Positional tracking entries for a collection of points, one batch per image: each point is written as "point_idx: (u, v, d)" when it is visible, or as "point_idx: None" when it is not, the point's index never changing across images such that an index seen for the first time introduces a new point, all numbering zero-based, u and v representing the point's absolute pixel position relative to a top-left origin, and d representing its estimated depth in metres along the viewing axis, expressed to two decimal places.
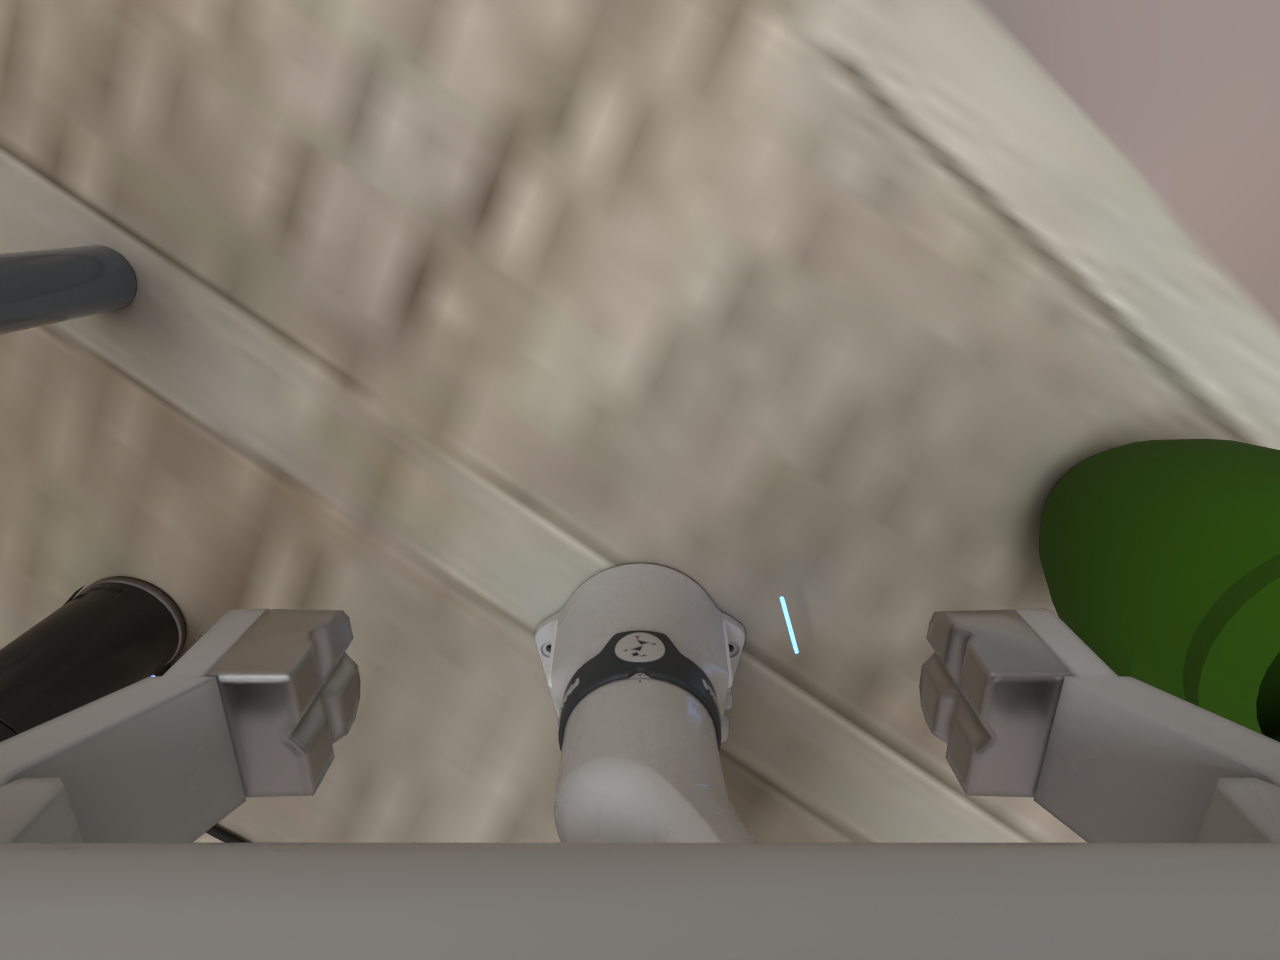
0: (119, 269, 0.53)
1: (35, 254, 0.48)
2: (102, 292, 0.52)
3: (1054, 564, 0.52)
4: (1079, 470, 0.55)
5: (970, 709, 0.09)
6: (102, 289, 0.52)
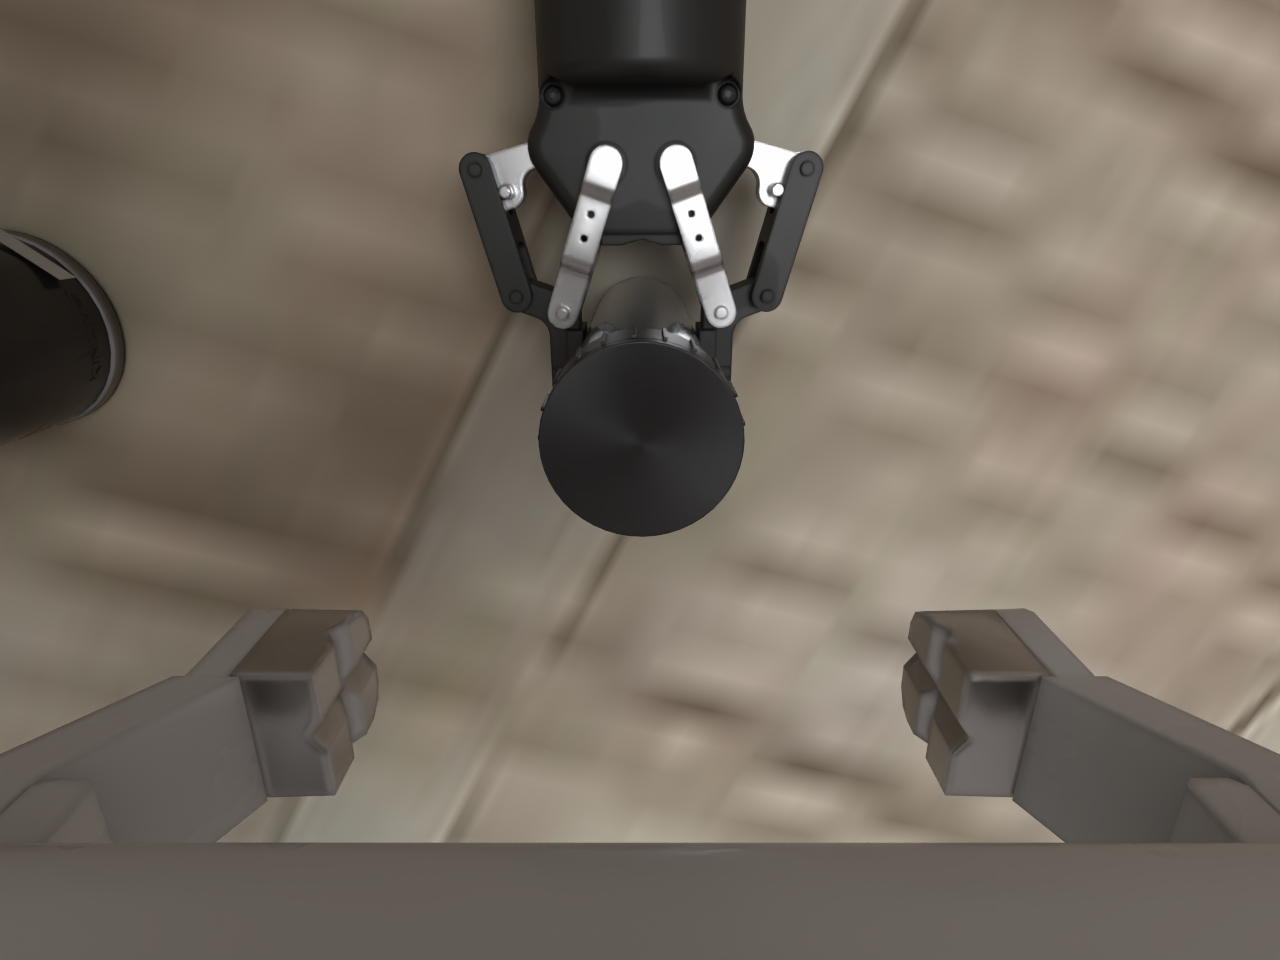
0: None
1: None
2: None
3: None
4: None
5: (949, 709, 0.09)
6: None
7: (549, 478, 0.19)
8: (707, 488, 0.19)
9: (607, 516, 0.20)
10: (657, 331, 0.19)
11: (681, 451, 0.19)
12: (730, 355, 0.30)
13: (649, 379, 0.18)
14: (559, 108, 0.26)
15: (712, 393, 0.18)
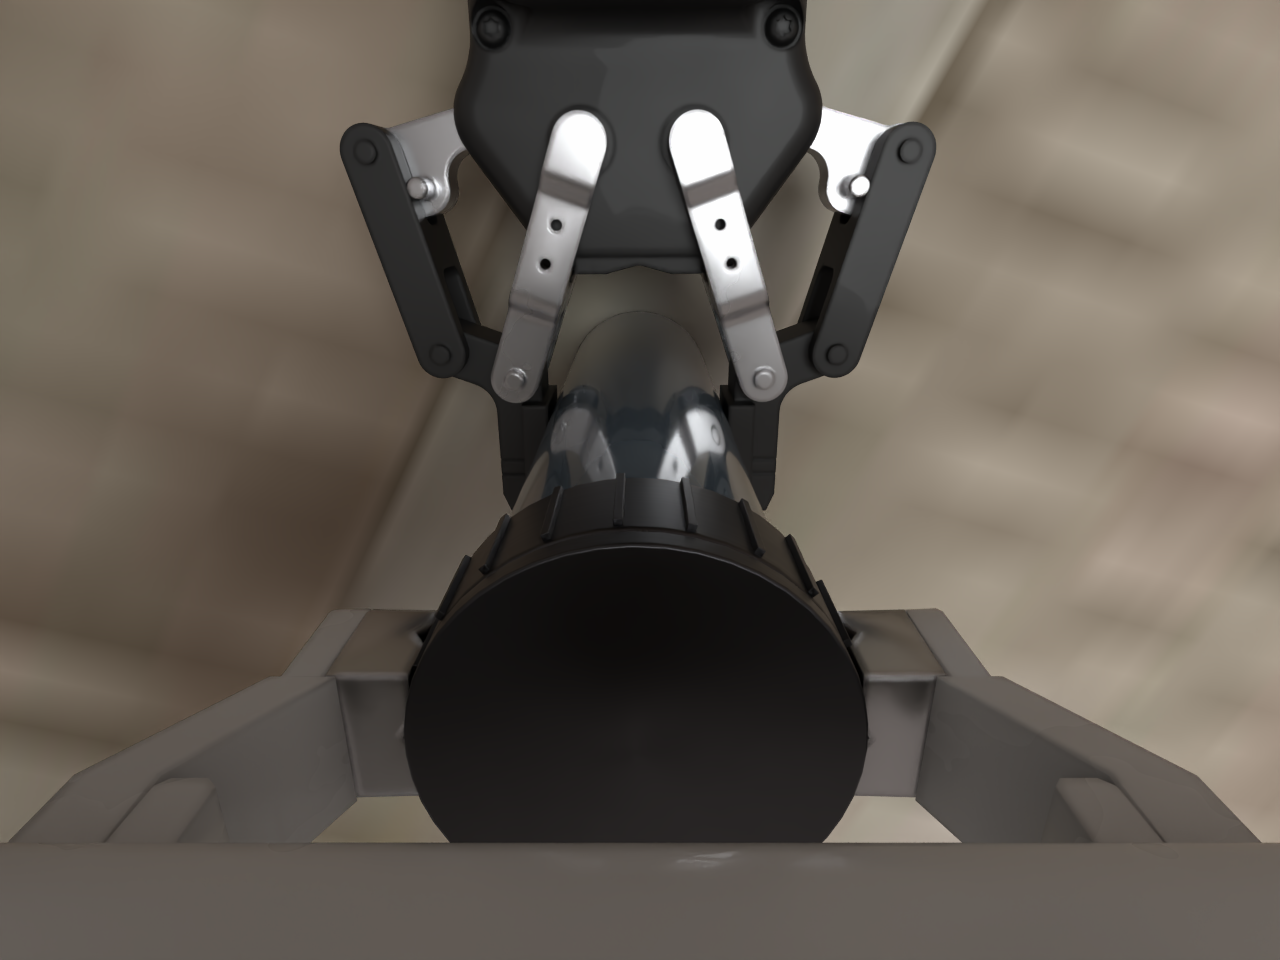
0: None
1: None
2: None
3: None
4: None
5: None
6: None
7: (432, 817, 0.09)
8: (780, 834, 0.09)
9: None
10: (671, 489, 0.09)
11: (725, 767, 0.08)
12: (775, 441, 0.20)
13: (654, 625, 0.08)
14: (502, 49, 0.16)
15: (801, 654, 0.08)
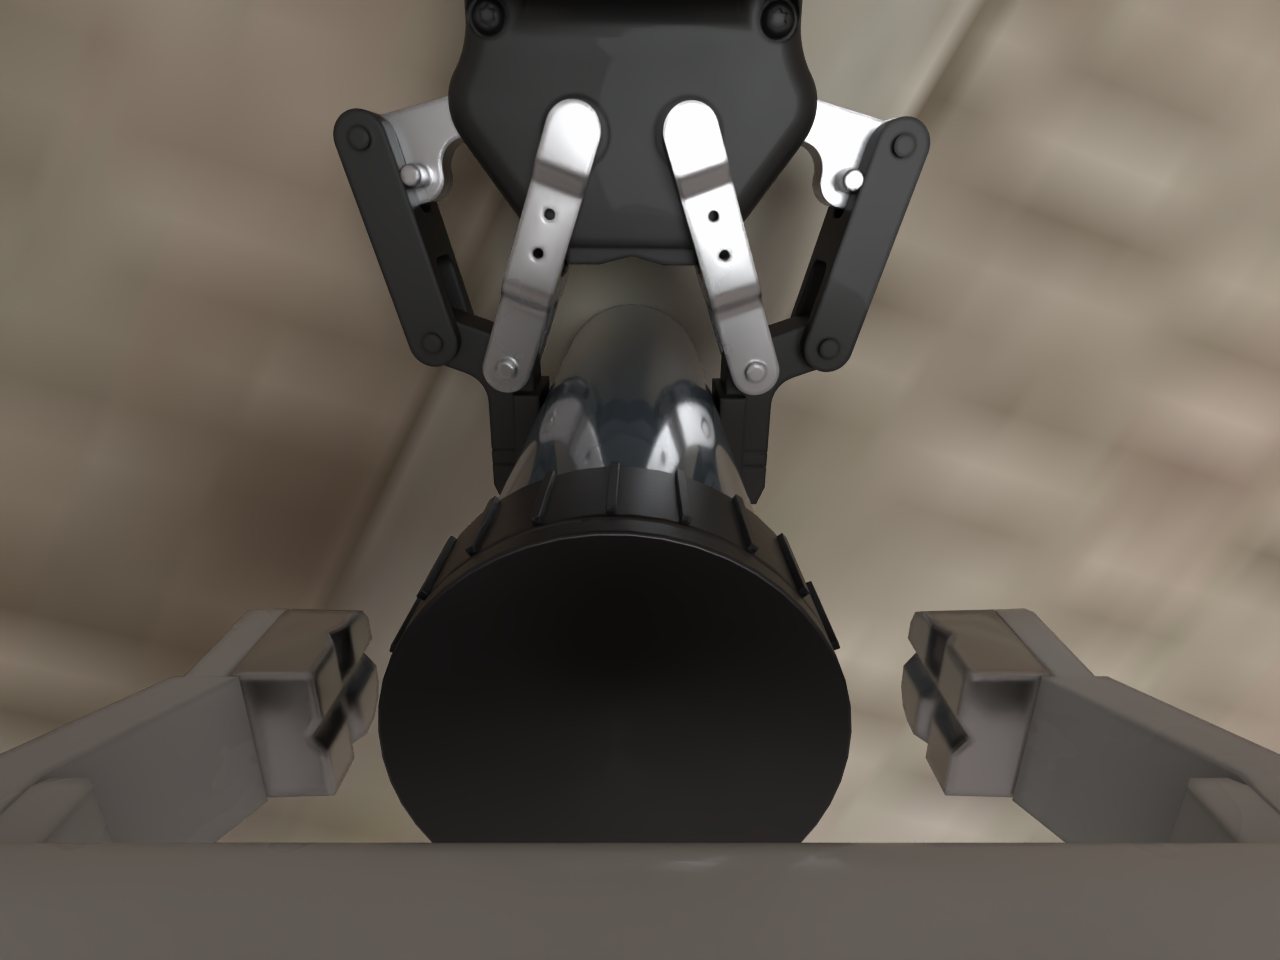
0: None
1: None
2: None
3: None
4: None
5: (949, 709, 0.09)
6: None
7: None
8: (803, 712, 0.08)
9: None
10: None
11: (692, 699, 0.08)
12: (766, 434, 0.20)
13: (507, 648, 0.08)
14: (497, 37, 0.16)
15: (632, 570, 0.07)
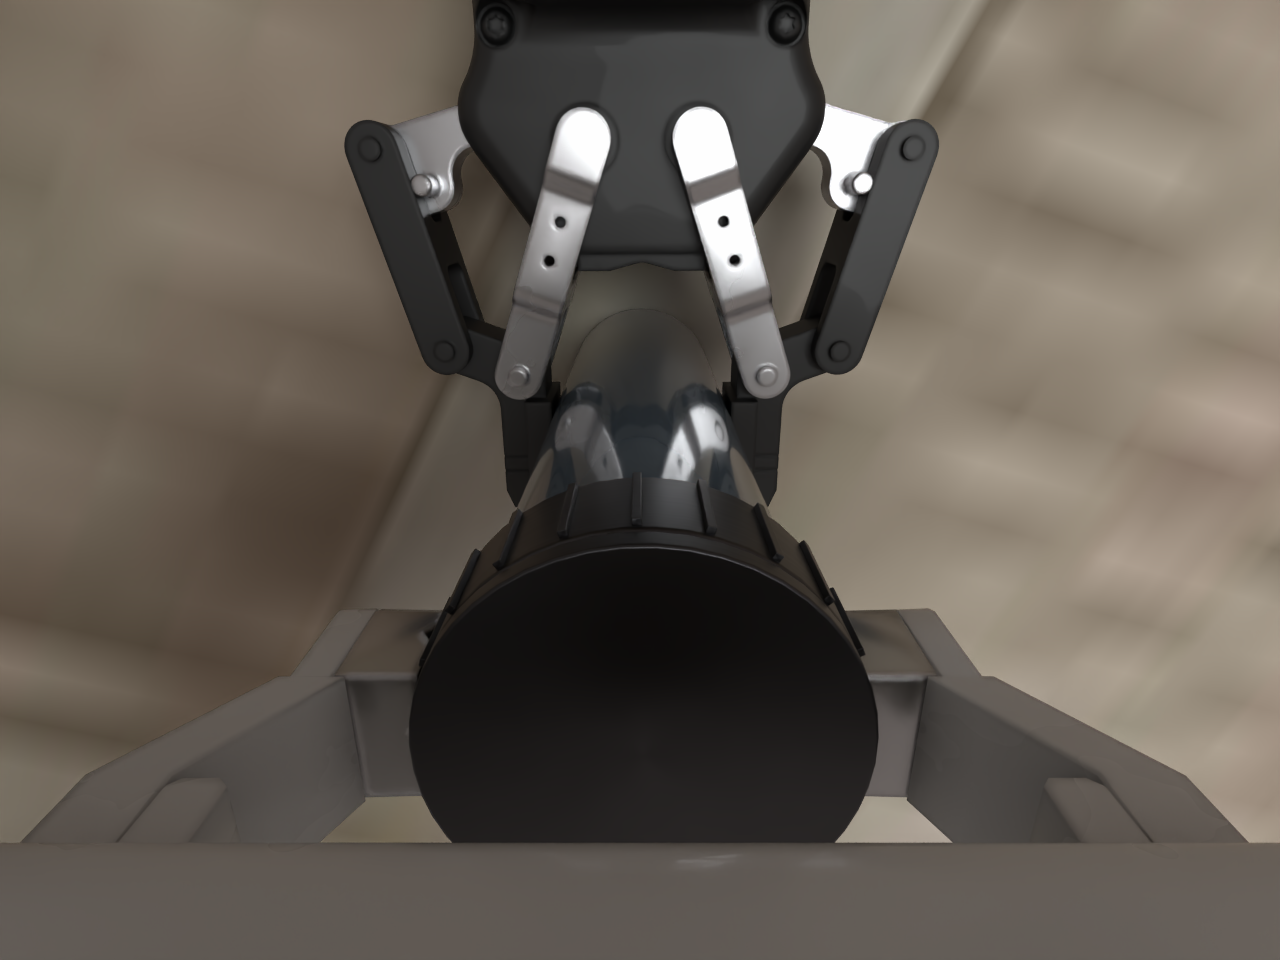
0: None
1: None
2: None
3: None
4: None
5: None
6: None
7: None
8: (831, 719, 0.08)
9: None
10: (505, 533, 0.09)
11: (719, 709, 0.08)
12: (777, 437, 0.20)
13: (536, 661, 0.08)
14: (506, 47, 0.16)
15: (659, 583, 0.07)
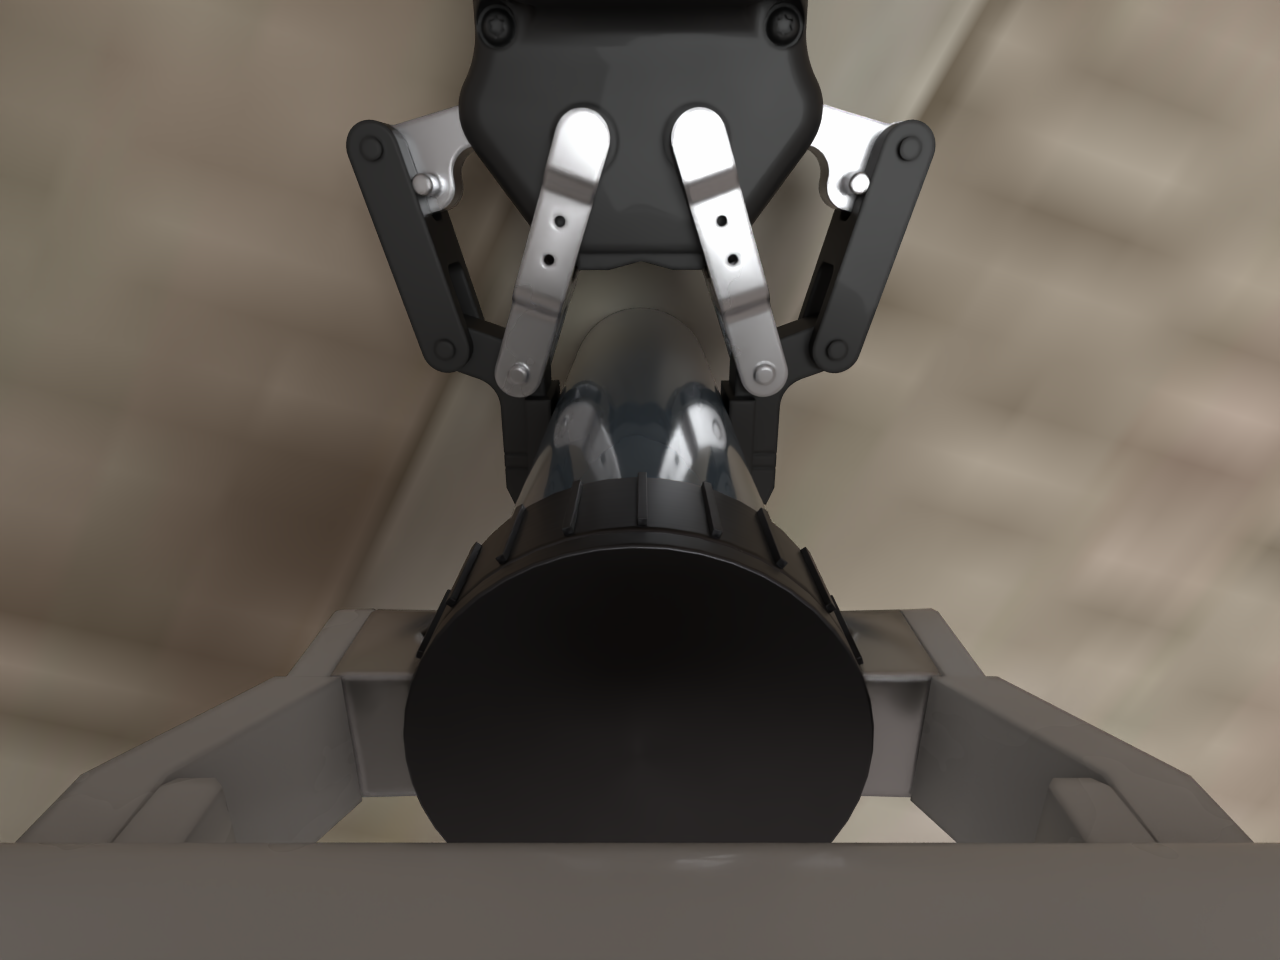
0: None
1: None
2: None
3: None
4: None
5: None
6: None
7: None
8: (733, 610, 0.08)
9: (823, 799, 0.09)
10: None
11: (643, 679, 0.08)
12: (775, 435, 0.20)
13: (487, 758, 0.08)
14: (507, 48, 0.16)
15: (489, 636, 0.08)
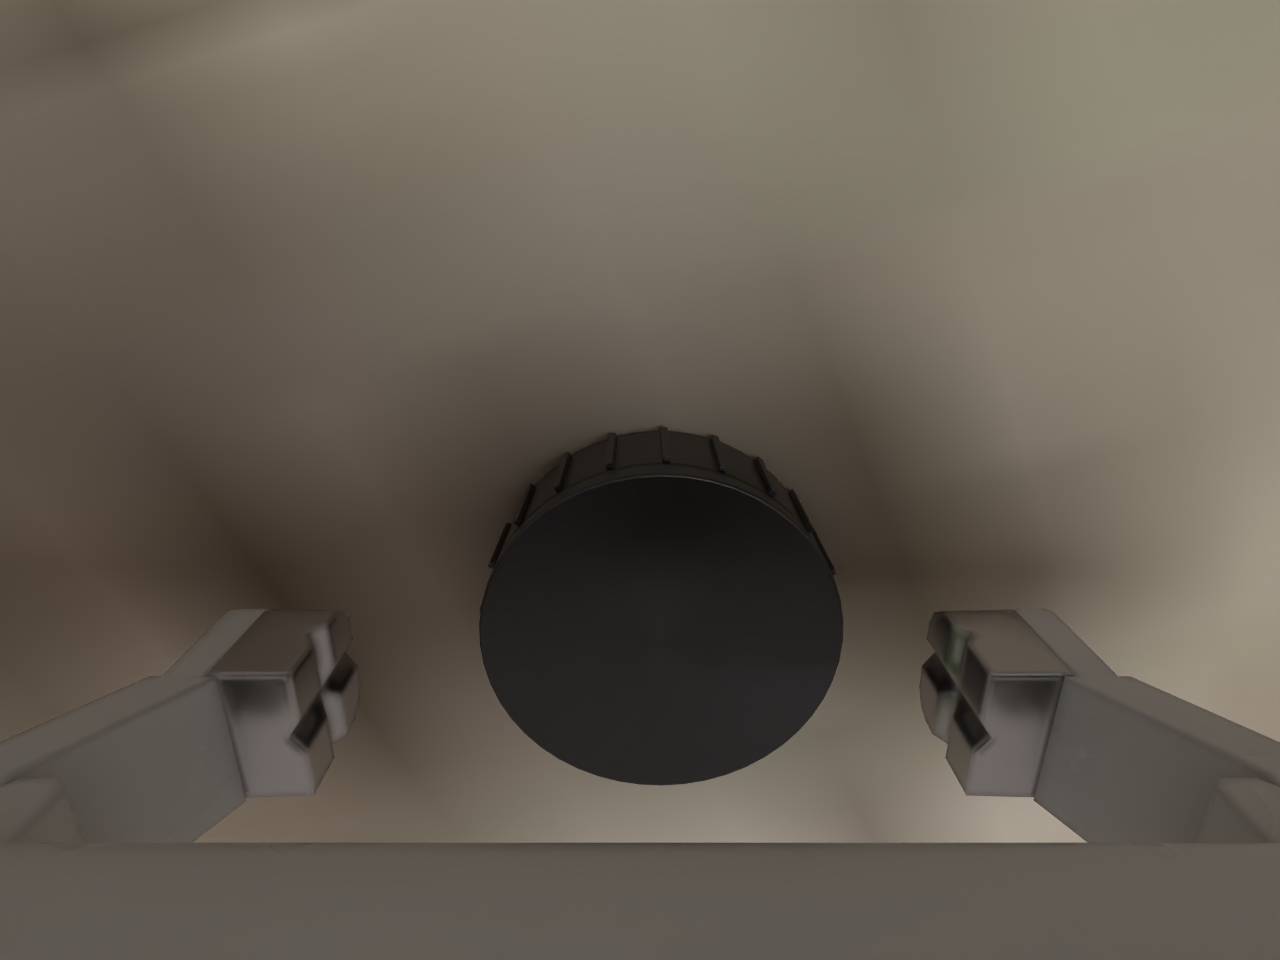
0: None
1: None
2: None
3: None
4: None
5: (970, 709, 0.09)
6: None
7: (738, 768, 0.11)
8: (735, 526, 0.10)
9: (804, 680, 0.11)
10: None
11: (666, 579, 0.10)
12: None
13: (544, 644, 0.11)
14: None
15: (549, 545, 0.10)
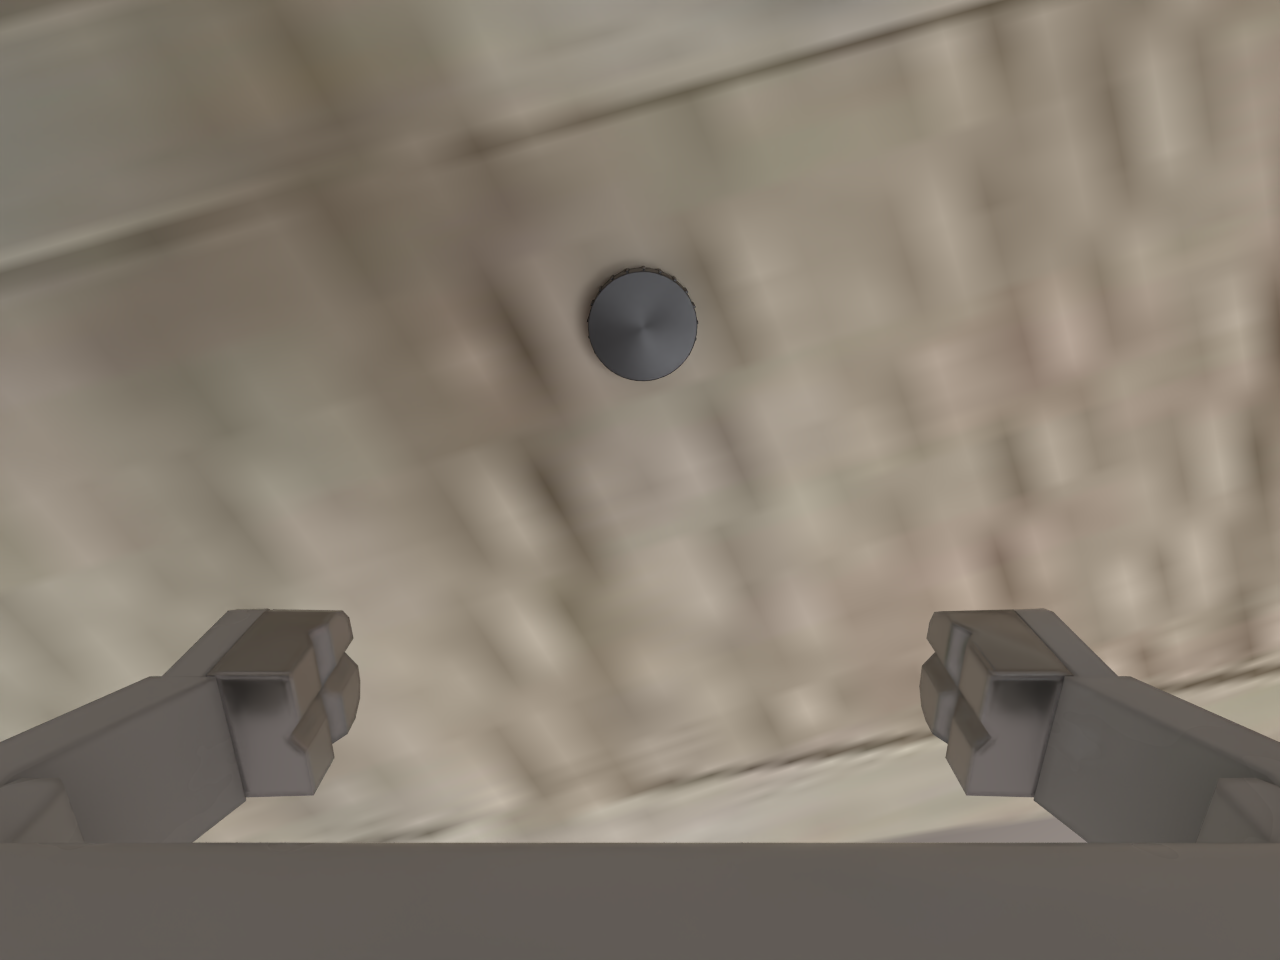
0: None
1: None
2: None
3: None
4: None
5: (970, 709, 0.09)
6: None
7: (667, 373, 0.36)
8: (663, 287, 0.35)
9: (686, 340, 0.36)
10: None
11: (644, 305, 0.35)
12: None
13: (607, 328, 0.36)
14: None
15: (610, 294, 0.35)
